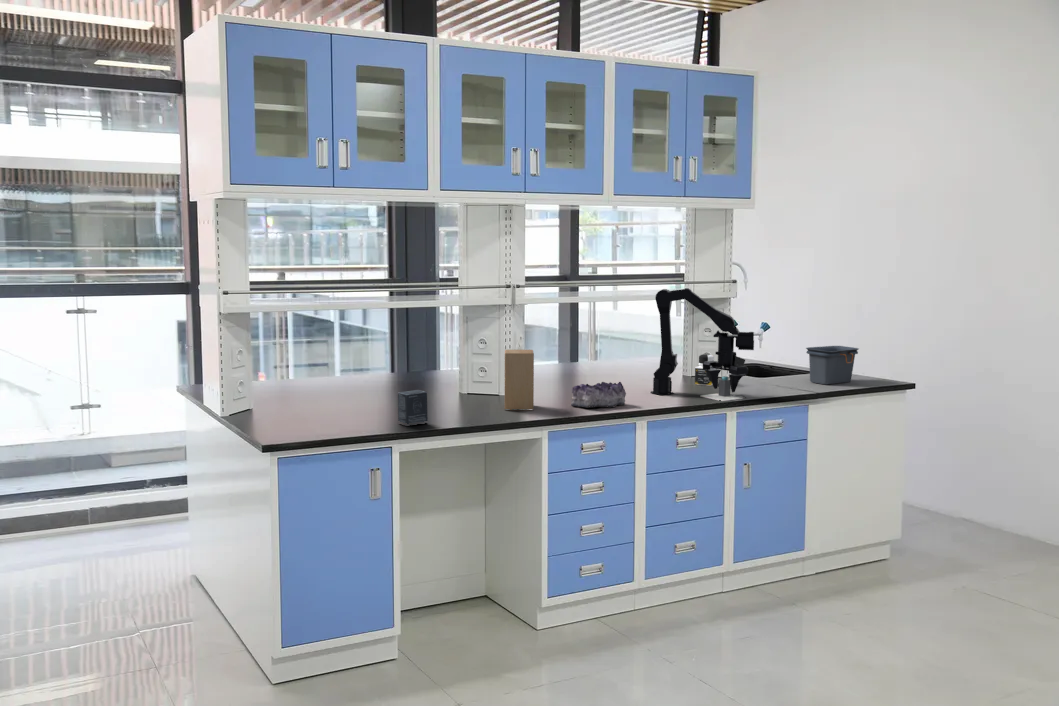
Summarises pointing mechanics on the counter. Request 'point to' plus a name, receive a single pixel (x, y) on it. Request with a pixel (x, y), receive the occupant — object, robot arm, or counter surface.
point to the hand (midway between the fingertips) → (724, 390)
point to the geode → (598, 395)
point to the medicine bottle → (703, 371)
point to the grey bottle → (724, 386)
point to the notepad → (717, 397)
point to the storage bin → (831, 364)
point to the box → (412, 406)
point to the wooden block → (519, 379)
